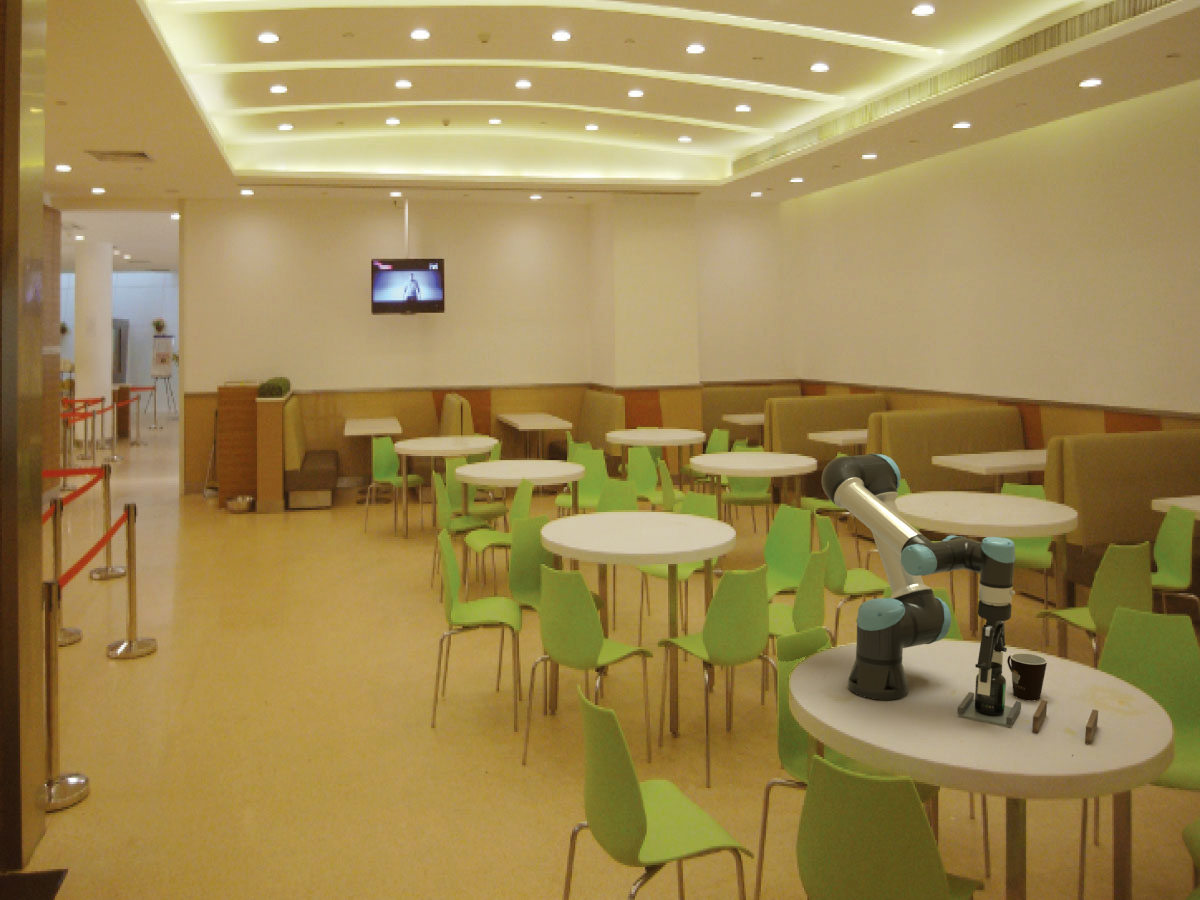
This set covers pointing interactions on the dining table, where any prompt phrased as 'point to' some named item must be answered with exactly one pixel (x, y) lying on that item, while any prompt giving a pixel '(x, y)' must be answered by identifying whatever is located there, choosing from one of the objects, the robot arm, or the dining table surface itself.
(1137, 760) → the dining table surface
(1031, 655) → the coffee mug
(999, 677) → the supplement bottle
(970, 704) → the slate pad
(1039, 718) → the walnut cradle
